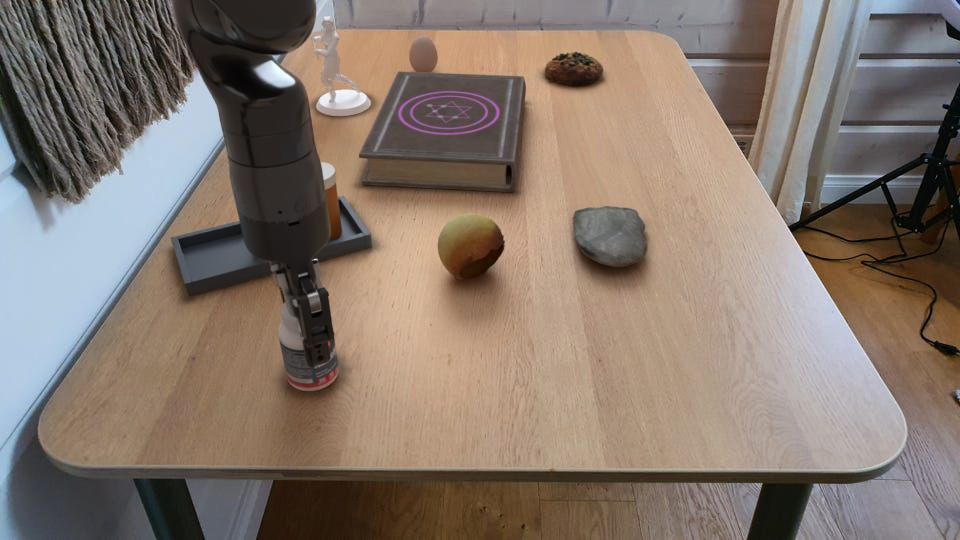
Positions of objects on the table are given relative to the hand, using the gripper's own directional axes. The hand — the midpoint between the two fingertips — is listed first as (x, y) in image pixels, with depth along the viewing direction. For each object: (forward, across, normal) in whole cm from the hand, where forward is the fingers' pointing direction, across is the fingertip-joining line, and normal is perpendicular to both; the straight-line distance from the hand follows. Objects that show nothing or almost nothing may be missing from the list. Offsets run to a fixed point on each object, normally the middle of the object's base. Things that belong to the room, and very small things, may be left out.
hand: (307, 338), depth 73 cm
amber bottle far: (+4, -24, +8) cm, 26 cm away
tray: (+5, -24, +2) cm, 25 cm away
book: (+5, -41, +35) cm, 54 cm away
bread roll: (+5, -55, +67) cm, 87 cm away
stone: (+5, -6, +41) cm, 42 cm away
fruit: (+5, -8, +22) cm, 24 cm away
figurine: (+5, -62, +24) cm, 67 cm away
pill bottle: (+5, 0, 0) cm, 5 cm away
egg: (+5, -68, +42) cm, 80 cm away
